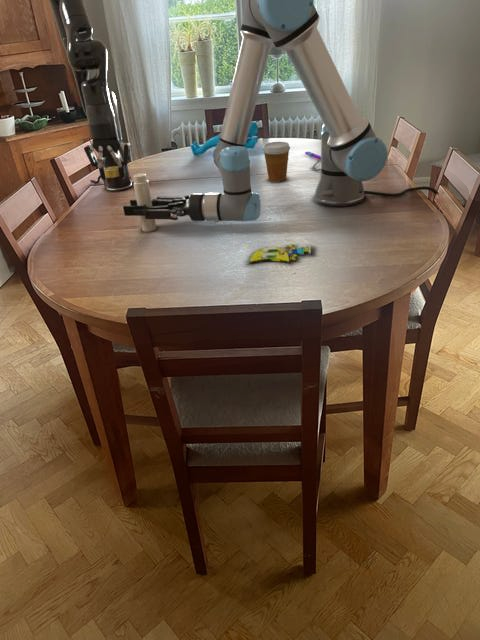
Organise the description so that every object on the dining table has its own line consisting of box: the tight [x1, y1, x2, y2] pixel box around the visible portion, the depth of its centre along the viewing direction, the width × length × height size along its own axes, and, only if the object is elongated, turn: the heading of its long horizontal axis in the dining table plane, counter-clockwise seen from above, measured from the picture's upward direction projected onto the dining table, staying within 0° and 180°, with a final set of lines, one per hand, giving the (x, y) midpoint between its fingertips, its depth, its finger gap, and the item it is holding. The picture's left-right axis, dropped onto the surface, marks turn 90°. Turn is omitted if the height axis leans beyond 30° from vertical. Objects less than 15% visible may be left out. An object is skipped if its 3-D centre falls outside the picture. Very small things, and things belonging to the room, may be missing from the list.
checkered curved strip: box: [304, 151, 321, 171], centre depth 185 cm, size 24×2×20 cm
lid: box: [104, 166, 120, 178], centre depth 146 cm, size 5×5×2 cm
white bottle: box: [132, 172, 157, 233], centre depth 137 cm, size 4×4×16 cm
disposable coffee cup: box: [262, 141, 291, 183], centre depth 169 cm, size 10×10×12 cm
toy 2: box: [248, 244, 312, 265], centre depth 120 cm, size 10×1×15 cm
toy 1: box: [190, 121, 260, 157], centre depth 206 cm, size 17×11×30 cm
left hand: (114, 179), depth 147 cm, fingers closed on lid, 5 cm apart
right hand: (128, 207), depth 139 cm, fingers closed on white bottle, 4 cm apart
